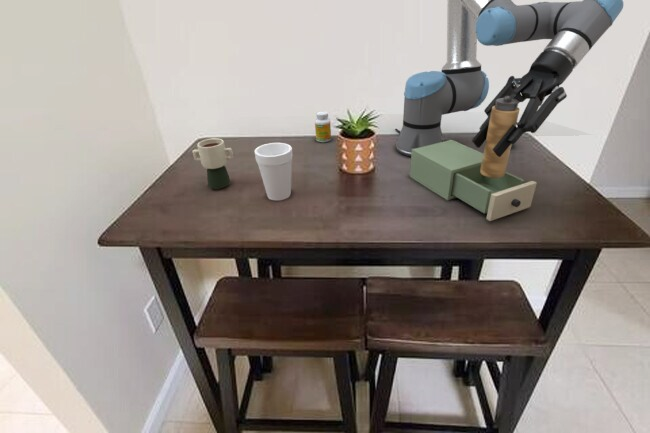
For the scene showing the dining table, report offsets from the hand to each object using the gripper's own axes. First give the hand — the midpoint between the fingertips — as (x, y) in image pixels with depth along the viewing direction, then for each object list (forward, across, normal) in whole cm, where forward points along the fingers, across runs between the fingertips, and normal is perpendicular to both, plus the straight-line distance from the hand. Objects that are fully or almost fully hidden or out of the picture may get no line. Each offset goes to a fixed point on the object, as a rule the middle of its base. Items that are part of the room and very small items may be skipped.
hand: (485, 148), depth 84 cm
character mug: (+48, +45, +26) cm, 71 cm away
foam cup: (+39, +31, +17) cm, 52 cm away
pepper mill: (+2, 0, -7) cm, 8 cm away
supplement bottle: (+19, +62, -3) cm, 65 cm away
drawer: (+8, -1, -13) cm, 15 cm away
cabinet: (+8, +14, -13) cm, 21 cm away
